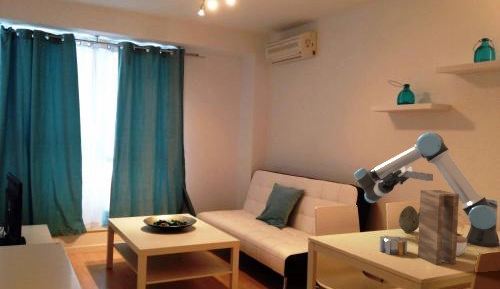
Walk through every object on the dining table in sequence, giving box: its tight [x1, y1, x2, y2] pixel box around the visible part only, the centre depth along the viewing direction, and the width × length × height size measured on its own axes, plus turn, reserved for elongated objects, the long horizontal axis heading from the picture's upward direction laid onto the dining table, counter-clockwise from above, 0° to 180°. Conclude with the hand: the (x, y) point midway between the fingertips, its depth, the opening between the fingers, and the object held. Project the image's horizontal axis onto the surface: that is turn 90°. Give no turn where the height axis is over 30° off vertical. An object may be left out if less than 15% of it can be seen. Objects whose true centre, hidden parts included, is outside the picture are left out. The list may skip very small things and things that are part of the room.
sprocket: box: [379, 235, 408, 256], centre depth 197 cm, size 12×12×6 cm
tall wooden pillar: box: [417, 189, 460, 266], centre depth 185 cm, size 10×12×30 cm
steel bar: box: [395, 170, 434, 182], centre depth 202 cm, size 3×24×3 cm, turn 16°
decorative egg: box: [398, 205, 419, 234], centre depth 238 cm, size 11×11×15 cm
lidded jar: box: [456, 235, 468, 257], centre depth 196 cm, size 11×11×9 cm
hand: (409, 168), depth 205 cm, fingers closed on steel bar, 3 cm apart
